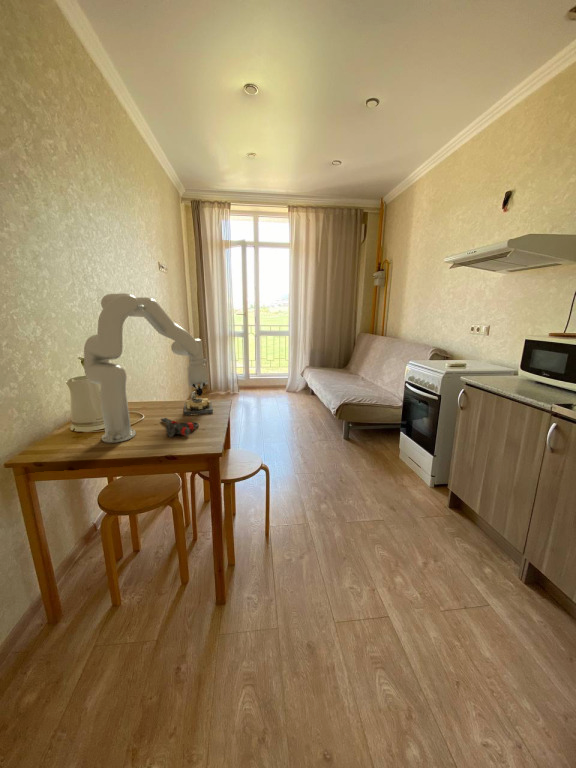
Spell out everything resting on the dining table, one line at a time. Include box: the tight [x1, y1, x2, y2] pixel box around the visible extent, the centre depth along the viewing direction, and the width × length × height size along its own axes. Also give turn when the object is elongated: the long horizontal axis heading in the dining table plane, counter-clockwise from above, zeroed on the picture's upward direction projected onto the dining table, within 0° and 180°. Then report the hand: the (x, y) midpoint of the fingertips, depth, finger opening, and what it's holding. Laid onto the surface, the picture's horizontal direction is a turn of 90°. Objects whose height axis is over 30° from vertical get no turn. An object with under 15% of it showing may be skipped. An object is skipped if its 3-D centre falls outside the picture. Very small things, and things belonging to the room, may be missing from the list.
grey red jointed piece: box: [160, 417, 199, 438], centre depth 138 cm, size 6×26×15 cm
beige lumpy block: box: [184, 391, 212, 409], centre depth 161 cm, size 13×12×6 cm
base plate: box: [183, 400, 214, 416], centre depth 162 cm, size 15×14×2 cm
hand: (199, 395), depth 165 cm, fingers closed
